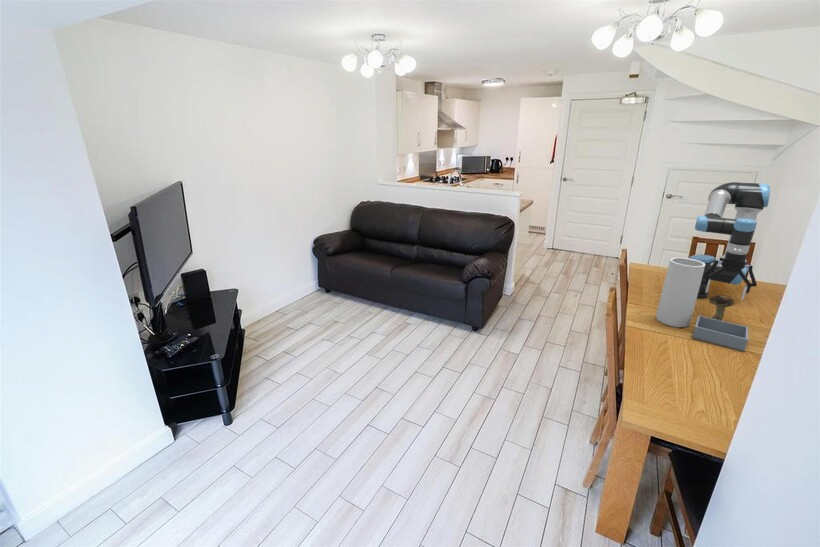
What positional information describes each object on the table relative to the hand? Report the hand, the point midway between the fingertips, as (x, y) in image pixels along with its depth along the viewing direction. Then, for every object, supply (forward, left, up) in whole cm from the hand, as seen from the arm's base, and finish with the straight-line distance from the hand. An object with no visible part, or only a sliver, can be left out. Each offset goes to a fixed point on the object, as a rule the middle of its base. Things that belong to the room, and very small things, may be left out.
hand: (723, 295), depth 184 cm
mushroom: (0, 0, -16) cm, 16 cm away
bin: (+16, +2, -16) cm, 22 cm away
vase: (+9, -17, -16) cm, 25 cm away
